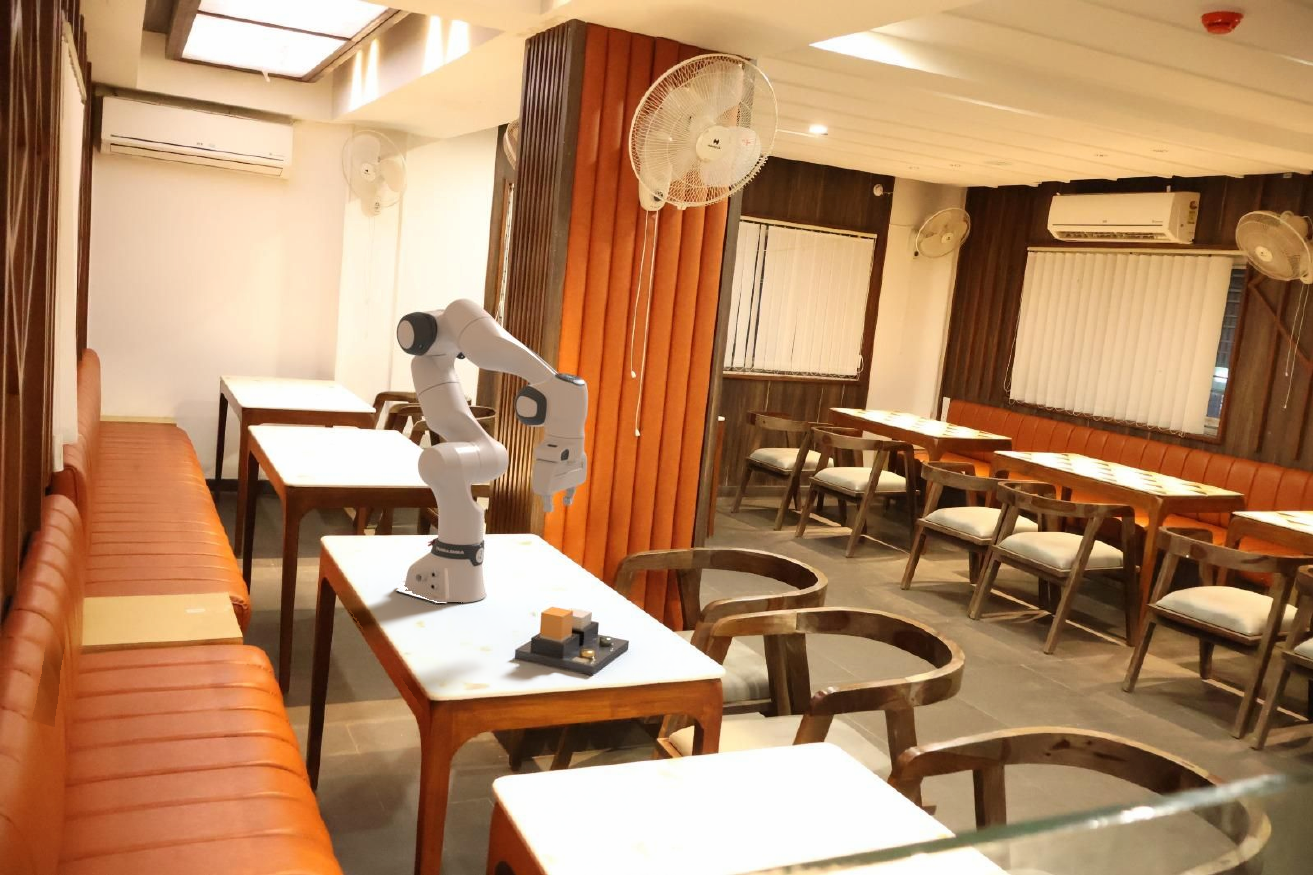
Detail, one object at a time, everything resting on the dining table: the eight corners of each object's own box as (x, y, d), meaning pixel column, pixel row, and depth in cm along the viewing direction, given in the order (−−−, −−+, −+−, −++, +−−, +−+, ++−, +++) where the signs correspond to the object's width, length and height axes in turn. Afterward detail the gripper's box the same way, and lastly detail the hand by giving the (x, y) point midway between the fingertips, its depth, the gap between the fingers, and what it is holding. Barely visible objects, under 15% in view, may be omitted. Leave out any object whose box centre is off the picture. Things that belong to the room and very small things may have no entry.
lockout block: (539, 635, 223) (541, 612, 223) (550, 629, 228) (552, 606, 227) (561, 639, 222) (562, 616, 221) (571, 633, 226) (573, 610, 226)
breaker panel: (514, 658, 224) (516, 636, 223) (555, 634, 242) (556, 613, 241) (592, 675, 218) (594, 652, 217) (628, 649, 235) (629, 627, 235)
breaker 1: (538, 649, 224) (539, 635, 223) (549, 642, 228) (550, 629, 228) (560, 653, 222) (561, 640, 222) (570, 647, 227) (571, 633, 226)
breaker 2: (560, 627, 233) (561, 613, 232) (570, 621, 237) (571, 608, 237) (581, 631, 231) (582, 617, 231) (590, 625, 236) (591, 612, 235)
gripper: (571, 440, 246) (566, 498, 248) (529, 450, 227) (523, 513, 230) (596, 444, 244) (590, 503, 246) (555, 455, 225) (549, 519, 227)
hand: (558, 508), depth 238 cm, fingers open, 8 cm apart
